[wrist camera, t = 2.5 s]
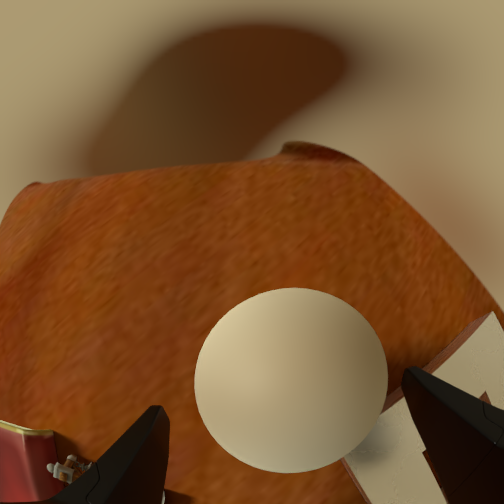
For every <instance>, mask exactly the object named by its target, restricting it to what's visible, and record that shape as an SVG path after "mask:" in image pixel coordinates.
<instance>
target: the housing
mask: <svg viewBox="0 0 504 504" xmlns="http://www.w3.org/2000/svg"><path fill="white" fill-rule="evenodd" d="M422 370H424V371H426V372H428V373H430V374H432V375H434V376H436V377H438V378H440V379H441V380H443V381H445V382H447V383H449V384H451V385H453V386H455V387H457V388H459V389H461V390H463V391H465V392H467V393H469V394H471V395H473V396H475V397H477V398H479V399H481V400H482V401H485V402H487V403H489V404H491V405H493V406H495V407H497V408H500V409H502V410H504V331H503V329H502V327H501V325H500V323H499V322H498V320H497V318H496V316H495V314H494V312H493V311H492V312H490V313H488V314H486V315H484V316H482V317H480V318H478V319H476V320H475V321H473V322H471V323H470V324H469V325H468V326H467V327H466V328H465V329H464V330H463V331H462V332H461V333H460V334H459V335H458V336H457V337H456V338H455V339H454V340H453V341H452V342H451V343H450V344H449V345H448V346H447V347H446V348H445V349H443V350H442V351H441V352H440V353H439V354H438V355H437V356H436V357H435V358H434V359H432V360H431V361H430V362H429V363H428V364H427V365H426V366H424V367H423V368H422ZM425 449H426V448H425V446H424V443H423V441H422V439H421V437H420V435H419V433H418V431H417V428H416V426H415V424H414V422H413V420H412V417H411V414H410V412H409V409H408V406H407V403H406V400H405V397H404V394H403V392H402V389H401V386H400V387H399V388H397V389H396V390H395V391H393V392H392V393H391V394H389V395H388V396H386V398H385V402H384V405H383V408H382V411H381V413H380V416H379V418H378V420H377V422H376V424H375V425H374V427H373V428H372V430H371V431H370V432H369V434H368V435H367V436H366V437H365V439H364V440H363V441H362V442H361V443H360V444H359V445H358V446H357V447H356V448H354V449H353V450H352V451H351V452H350V453H348V454H347V455H345V456H344V457H342V458H341V459H340V460H341V462H342V463H343V465H344V467H345V468H346V470H347V472H348V473H349V475H350V477H351V478H352V480H353V482H354V483H355V485H356V486H357V488H358V490H359V491H360V493H361V495H362V496H363V498H364V499H365V501H366V503H367V504H449V502H448V500H447V497H446V495H445V492H444V490H443V487H442V488H441V489H440V488H439V486H438V484H437V481H436V479H435V477H434V475H433V473H432V471H431V469H430V467H429V465H428V463H427V461H426V459H425V457H424V456H423V454H422V452H423V451H424V450H425Z"/></svg>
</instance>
